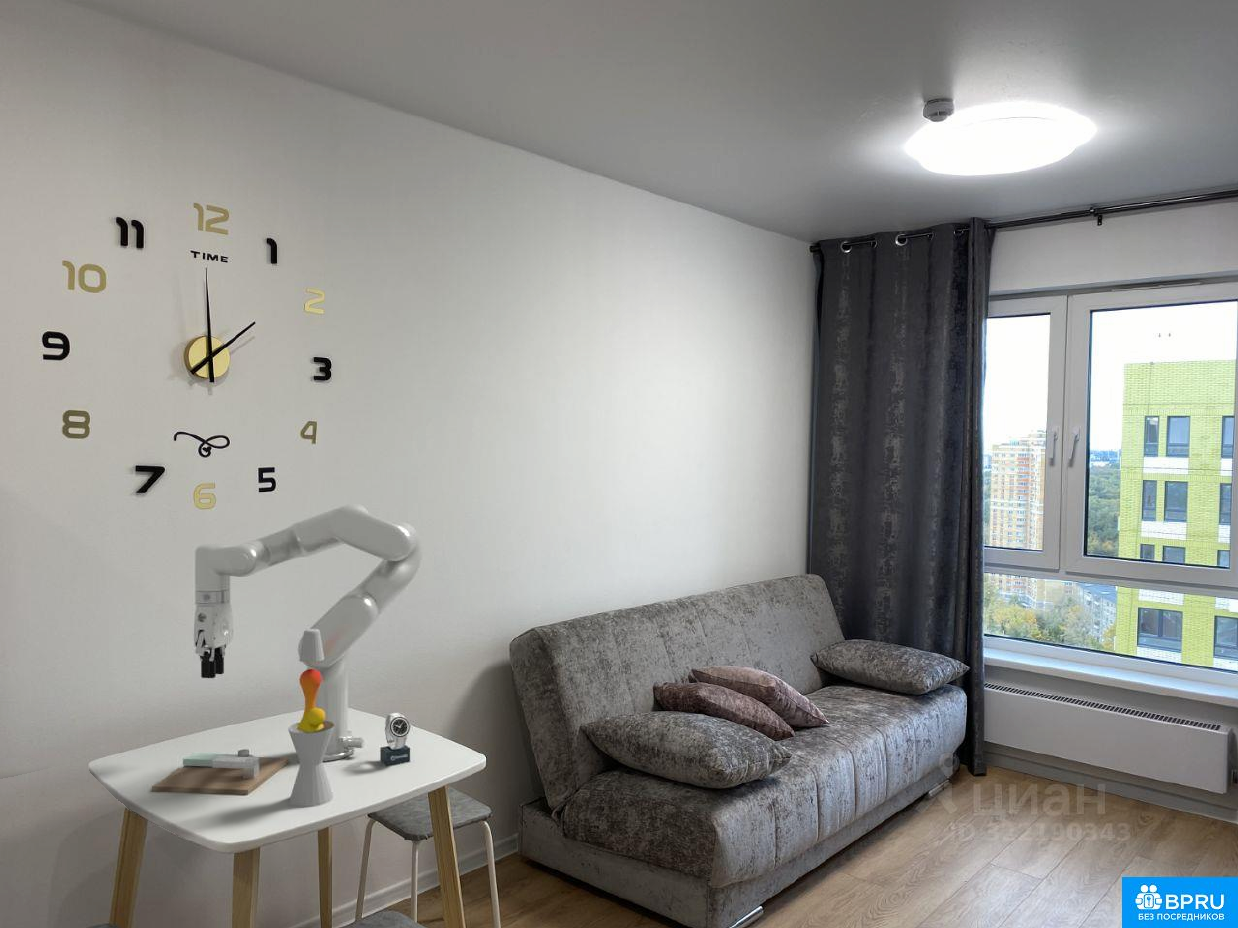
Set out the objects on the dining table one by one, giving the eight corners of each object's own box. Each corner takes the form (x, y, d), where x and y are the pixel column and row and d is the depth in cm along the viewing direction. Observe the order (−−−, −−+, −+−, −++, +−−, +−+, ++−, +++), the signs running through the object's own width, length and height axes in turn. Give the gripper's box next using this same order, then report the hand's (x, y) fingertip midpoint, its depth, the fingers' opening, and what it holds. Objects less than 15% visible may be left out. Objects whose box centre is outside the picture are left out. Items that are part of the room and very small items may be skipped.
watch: (390, 768, 208) (390, 720, 208) (377, 758, 215) (377, 711, 215) (413, 763, 211) (413, 716, 211) (400, 754, 218) (400, 708, 218)
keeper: (259, 774, 201) (259, 757, 201) (253, 779, 198) (253, 761, 198) (219, 772, 202) (219, 756, 202) (212, 777, 199) (212, 760, 199)
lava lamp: (278, 801, 188) (279, 630, 188) (314, 787, 196) (314, 623, 196) (308, 810, 184) (308, 635, 183) (343, 796, 191) (344, 628, 191)
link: (257, 761, 208) (257, 754, 208) (248, 767, 204) (248, 761, 204) (193, 759, 210) (193, 752, 210) (182, 765, 205) (182, 758, 205)
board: (289, 762, 212) (289, 743, 212) (248, 794, 192) (248, 773, 192) (201, 759, 213) (201, 740, 213) (151, 790, 193) (151, 770, 193)
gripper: (210, 603, 206) (209, 684, 207) (245, 592, 223) (244, 667, 223) (177, 602, 207) (177, 684, 207) (215, 591, 223) (215, 667, 223)
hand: (212, 674), depth 215 cm, fingers open, 3 cm apart
